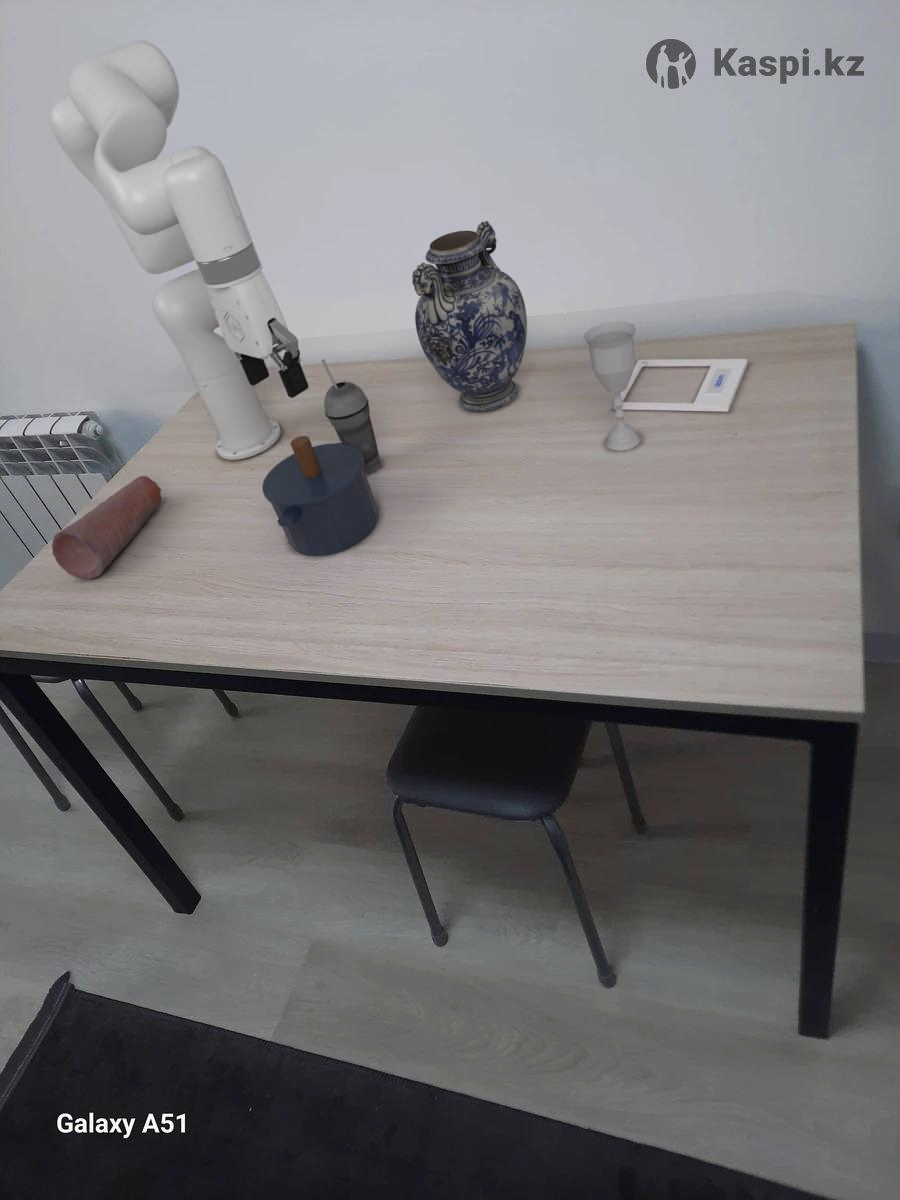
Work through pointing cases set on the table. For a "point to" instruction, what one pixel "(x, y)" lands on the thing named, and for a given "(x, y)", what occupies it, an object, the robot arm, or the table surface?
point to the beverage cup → (352, 419)
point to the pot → (331, 520)
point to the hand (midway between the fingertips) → (279, 386)
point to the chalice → (614, 373)
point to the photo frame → (712, 392)
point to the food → (105, 529)
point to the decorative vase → (471, 318)
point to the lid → (312, 473)
